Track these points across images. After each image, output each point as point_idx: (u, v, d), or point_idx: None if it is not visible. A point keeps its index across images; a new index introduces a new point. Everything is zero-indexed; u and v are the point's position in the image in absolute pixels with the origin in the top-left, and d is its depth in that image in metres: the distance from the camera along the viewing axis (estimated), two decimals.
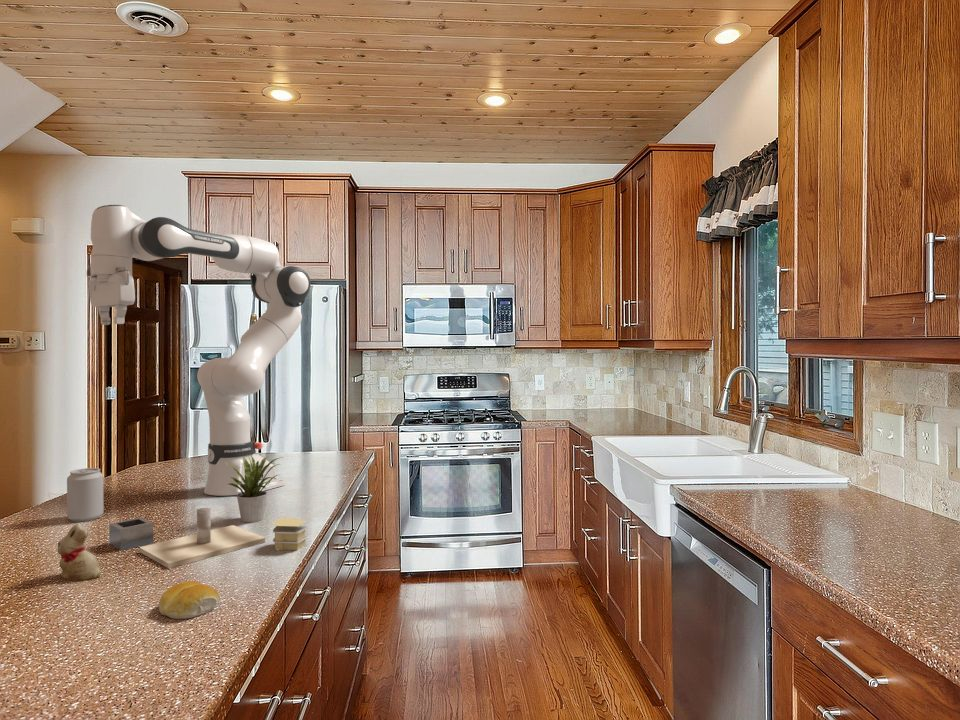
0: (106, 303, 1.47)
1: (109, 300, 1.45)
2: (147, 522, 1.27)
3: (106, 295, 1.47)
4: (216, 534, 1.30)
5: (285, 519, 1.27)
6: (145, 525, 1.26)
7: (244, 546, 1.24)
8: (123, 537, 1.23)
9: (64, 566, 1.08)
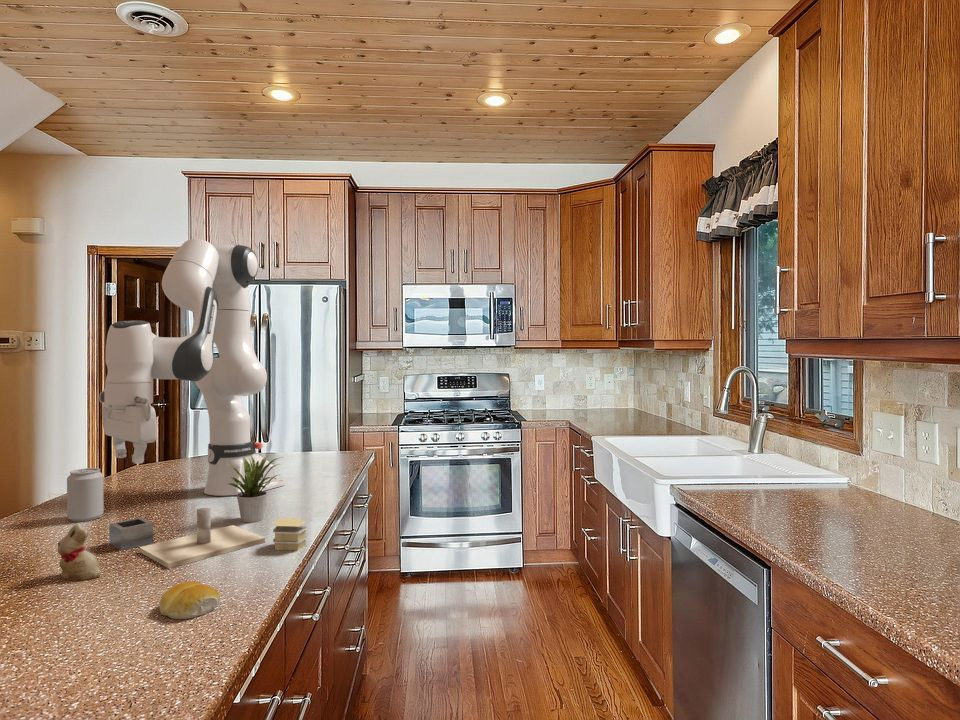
0: (122, 438, 1.24)
1: (126, 435, 1.23)
2: (147, 522, 1.27)
3: (122, 429, 1.24)
4: (216, 534, 1.30)
5: (285, 519, 1.27)
6: (145, 525, 1.26)
7: (244, 546, 1.24)
8: (123, 537, 1.23)
9: (64, 566, 1.08)
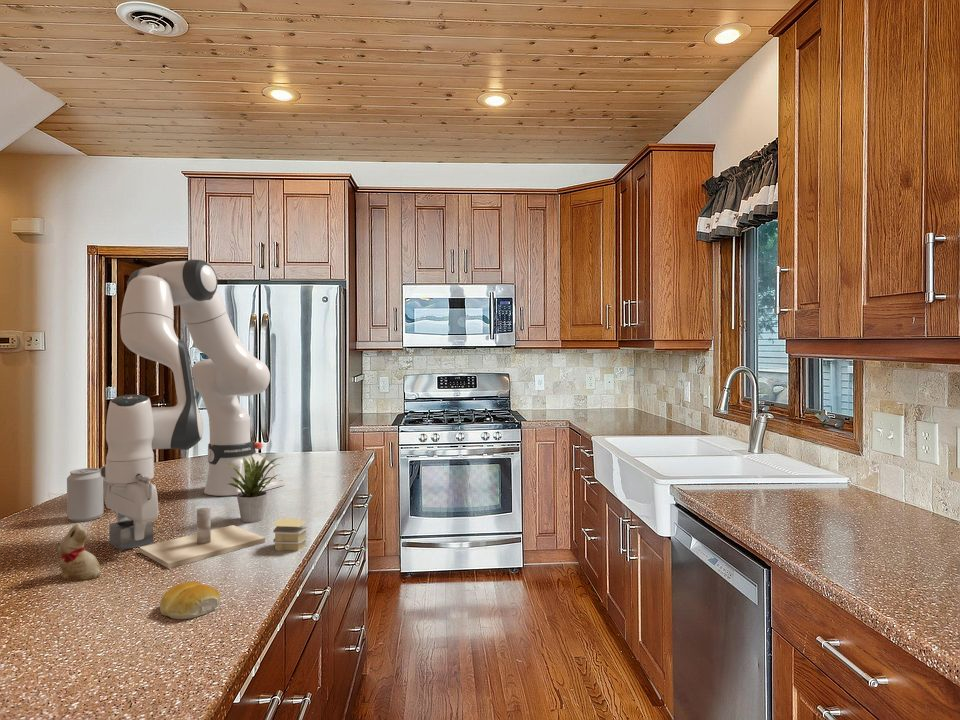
0: (124, 514, 1.24)
1: (128, 513, 1.23)
2: (147, 522, 1.27)
3: (124, 506, 1.24)
4: (216, 534, 1.30)
5: (285, 519, 1.27)
6: None
7: (244, 546, 1.24)
8: (123, 537, 1.23)
9: (64, 566, 1.08)
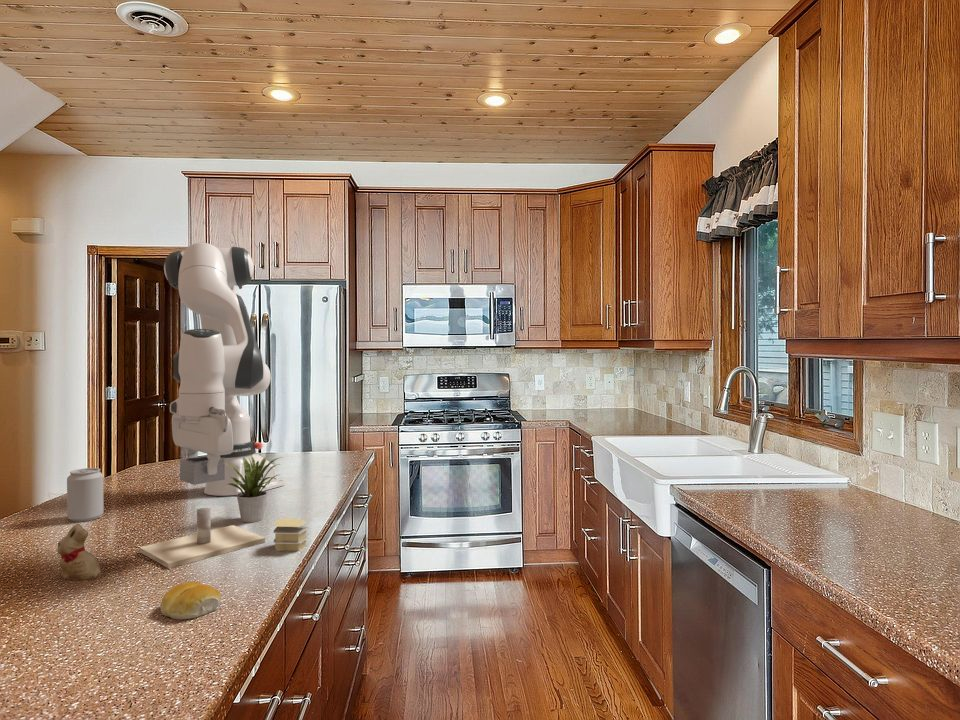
0: (196, 449, 1.22)
1: (201, 447, 1.20)
2: None
3: (196, 440, 1.22)
4: (216, 534, 1.30)
5: (285, 520, 1.27)
6: None
7: (244, 546, 1.24)
8: (196, 471, 1.20)
9: (64, 566, 1.08)
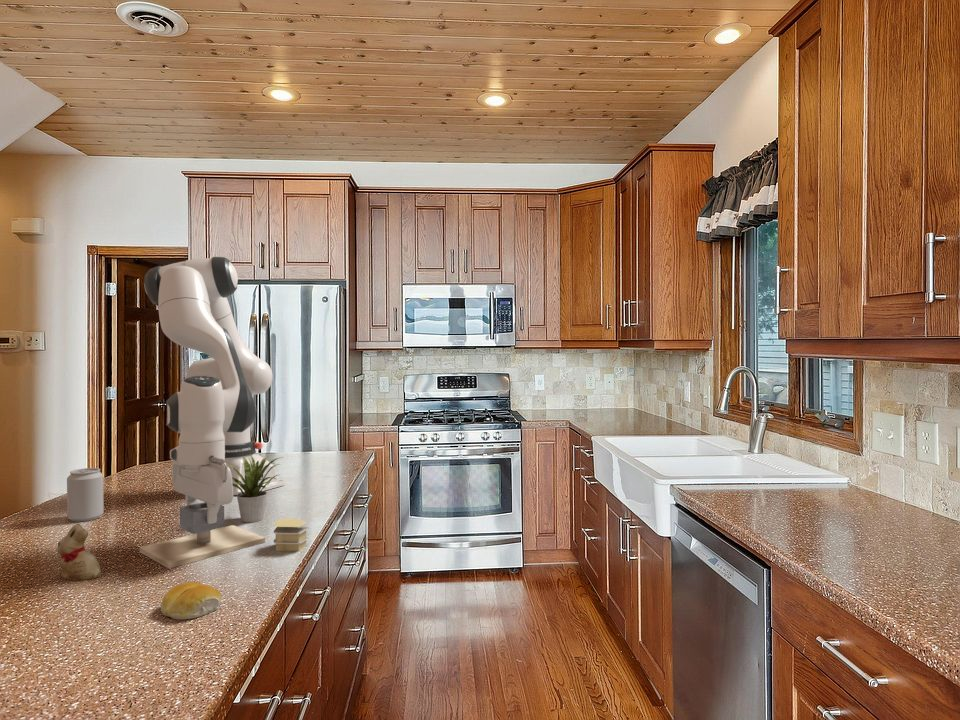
0: (196, 497, 1.22)
1: (201, 496, 1.21)
2: None
3: (196, 488, 1.22)
4: (216, 534, 1.30)
5: (285, 520, 1.27)
6: None
7: (244, 546, 1.24)
8: (196, 520, 1.20)
9: (64, 566, 1.08)
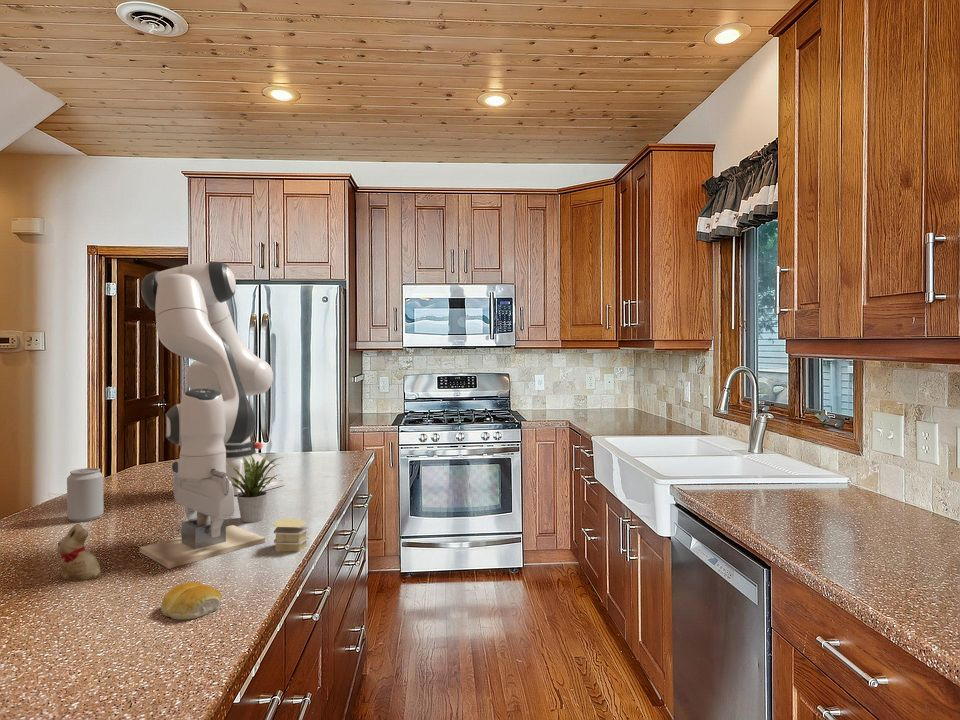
0: (198, 510, 1.22)
1: (203, 509, 1.21)
2: None
3: (198, 501, 1.22)
4: None
5: (286, 520, 1.27)
6: None
7: (244, 546, 1.24)
8: (198, 536, 1.21)
9: (64, 566, 1.08)
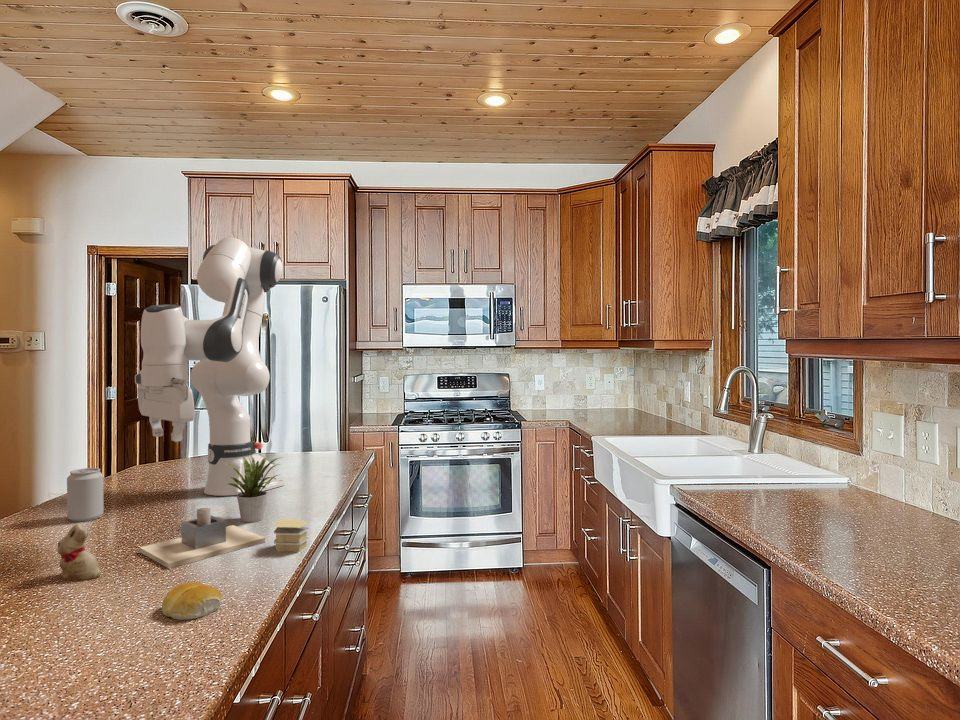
0: (161, 417, 1.30)
1: (165, 415, 1.28)
2: (219, 520, 1.25)
3: (160, 409, 1.29)
4: None
5: (286, 520, 1.26)
6: (218, 523, 1.24)
7: (244, 546, 1.24)
8: (198, 536, 1.21)
9: (64, 566, 1.08)
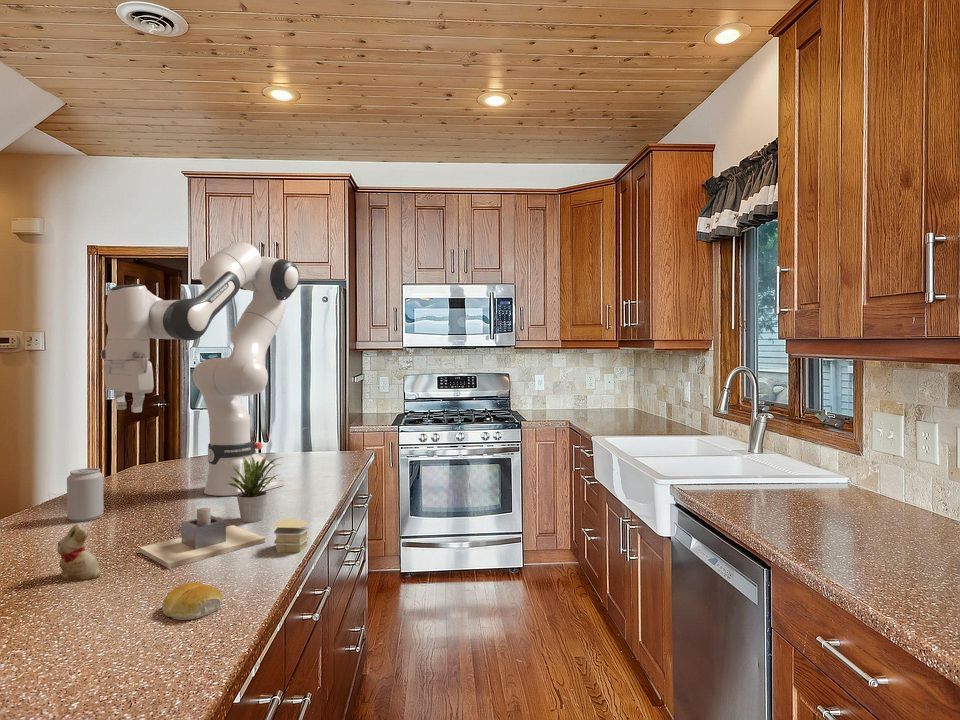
0: (122, 389, 1.37)
1: (126, 387, 1.36)
2: (219, 520, 1.25)
3: (122, 382, 1.37)
4: None
5: (286, 520, 1.26)
6: (218, 523, 1.24)
7: (244, 546, 1.24)
8: (198, 536, 1.21)
9: (64, 566, 1.08)
